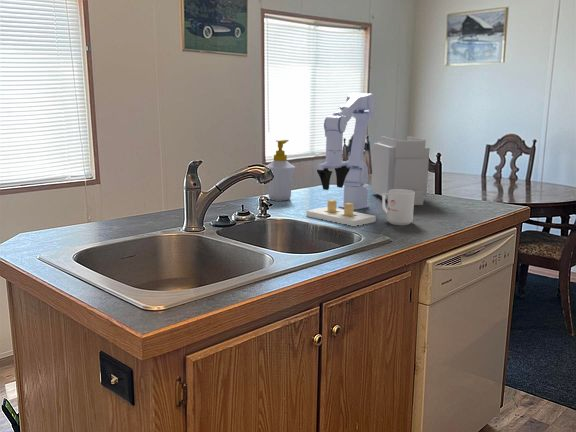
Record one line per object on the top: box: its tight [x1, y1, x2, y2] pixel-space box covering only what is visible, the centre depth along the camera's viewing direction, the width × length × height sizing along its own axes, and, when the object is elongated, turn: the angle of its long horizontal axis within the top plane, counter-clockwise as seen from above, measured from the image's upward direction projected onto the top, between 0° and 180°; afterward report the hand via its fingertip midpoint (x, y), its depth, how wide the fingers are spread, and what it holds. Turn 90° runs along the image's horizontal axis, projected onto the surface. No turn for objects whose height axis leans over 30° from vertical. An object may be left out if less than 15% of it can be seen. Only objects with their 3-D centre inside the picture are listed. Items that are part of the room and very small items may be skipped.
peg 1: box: [326, 199, 338, 213], centre depth 199 cm, size 3×3×6 cm
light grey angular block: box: [370, 135, 431, 206], centre depth 234 cm, size 17×27×26 cm, turn 9°
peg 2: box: [343, 203, 354, 217], centre depth 193 cm, size 3×3×6 cm
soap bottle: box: [265, 139, 296, 202], centre depth 229 cm, size 13×13×25 cm
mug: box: [381, 189, 415, 226], centre depth 192 cm, size 12×9×11 cm
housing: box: [305, 206, 377, 227], centre depth 196 cm, size 12×22×2 cm, turn 44°
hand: (332, 188), depth 197 cm, fingers open, 7 cm apart
